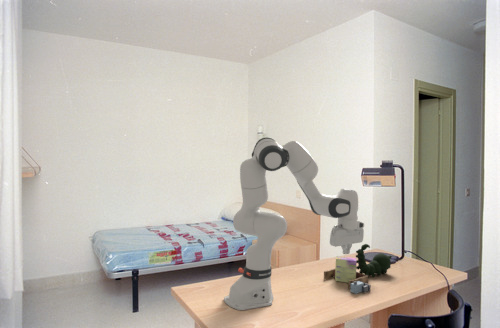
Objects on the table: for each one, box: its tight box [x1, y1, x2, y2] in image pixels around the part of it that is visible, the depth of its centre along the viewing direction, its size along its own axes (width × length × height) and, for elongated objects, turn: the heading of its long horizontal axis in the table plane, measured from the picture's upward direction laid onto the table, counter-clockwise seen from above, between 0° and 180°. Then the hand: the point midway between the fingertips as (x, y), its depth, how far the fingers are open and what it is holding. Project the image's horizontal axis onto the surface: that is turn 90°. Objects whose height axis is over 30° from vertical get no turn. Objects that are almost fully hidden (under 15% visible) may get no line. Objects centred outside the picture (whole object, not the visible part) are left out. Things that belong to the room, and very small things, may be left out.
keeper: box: [360, 281, 371, 294], centre depth 170 cm, size 5×6×3 cm
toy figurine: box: [355, 243, 393, 278], centre depth 192 cm, size 9×19×25 cm
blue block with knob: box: [349, 281, 364, 295], centre depth 168 cm, size 6×3×5 cm, turn 126°
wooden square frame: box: [323, 268, 369, 290], centre depth 181 cm, size 14×17×4 cm
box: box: [334, 255, 358, 284], centre depth 182 cm, size 10×6×12 cm, turn 75°
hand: (346, 253), depth 162 cm, fingers closed
